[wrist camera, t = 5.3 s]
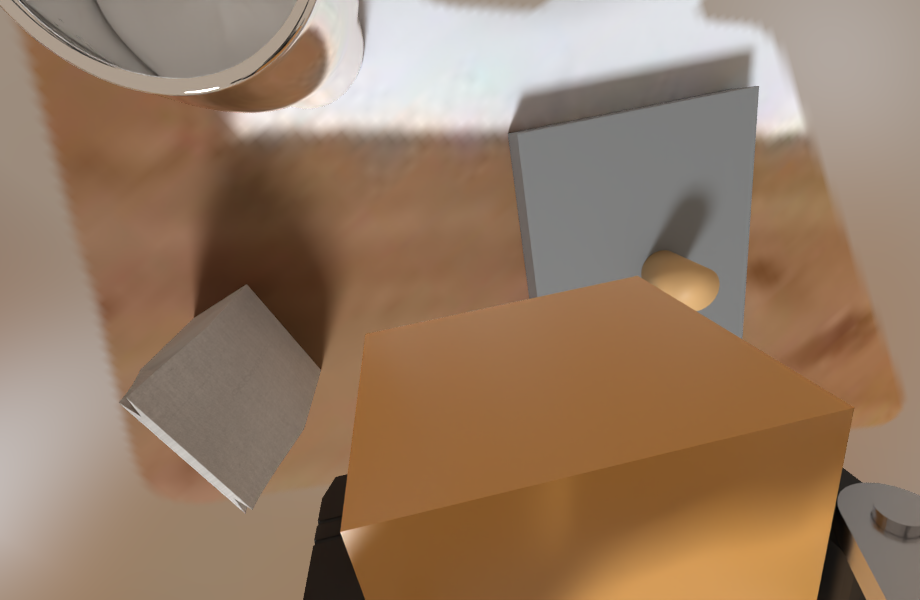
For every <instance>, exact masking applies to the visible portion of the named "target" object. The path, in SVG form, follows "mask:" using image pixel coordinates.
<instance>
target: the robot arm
mask: <svg viewBox="0 0 920 600" xmlns="http://www.w3.org/2000/svg"><path fill="white" fill-rule="evenodd" d="M347 475H348V474H347ZM347 475H342V476H338V477H336V478H335V479H334V481H333V482H332V484H331V485H330V487H329V489H328V490H327V492H326V493H325V495H324V496H323V498H322V502H321V507H320V513H319V518H318V526H317V529H316V534H315V539H314V541H315V545H314V546H313V551H312V556H311V561H310V566H309V572H308V577H307V582H306V587H305V593H304V598H303V600H365V598H364V595H363V592H362V590H361V587H360V584H359V581H358V579H357V576H356V573H355V571H354V568H353V565H352V563H351V560H350V557H349V554H348V552H347V549H346V546H345V544H344V541H343V538H342V536H341V533H340V530H341V522H342V514H343V506H344V499H345V491H346V483H347ZM817 600H920V496H919V495H917V494H915V493H912V492H910V491H907V490H905V489H901V488H898V487H895V486H890V485H886V484H879V483H862V482H861V481H859V480H858V479H856V477H854V476H853V475H852V474H850V473H849V472H848V471H846V470H845V469H844V468H842V473H841V478H840V483H839V489H838V494H837V499H836V504H835V509H834V514H833V519H832V525H831V530H830V535H829V540H828V545H827V550H826V555H825V560H824V566H823V571H822V576H821V581H820V586H819V591H818V596H817Z"/></svg>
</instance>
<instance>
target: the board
mask: <svg viewBox="0 0 920 600" xmlns="http://www.w3.org/2000/svg"><path fill="white" fill-rule="evenodd" d="M758 92H759V86H755V87H746V88H737V89H730V90H725V91H719V92H714V93H709V94H704V95H699V96H694V97H689V98H684V99H679V100H674V101H669V102H664V103H659V104H654V105H649V106H644V107H639V108H634V109H629V110H624V111H619V112H614V113H609V114H604V115H599V116H594V117H589V118H583V119H578V120H573V121H568V122H563V123H558V124H553V125H548V126H543V127H538V128H533V129H528V130H523V131H518V132H513V133H508V138H509V146H510V153H511V161H512V169H513V176H514V184H515V192H516V199H517V207H518V215H519V222H520V230H521V238H522V245H523V253H524V260H525V268H526V276H527V283H528V291H529V299H531V298H536V297H541V296H545V295H550V294H555V293H559V292H564V291H569V290H573V289H578V288H583V287H587V286H592V285H597V284H601V283H606V282H611V281H615V280H620V279H625V278H630V277H634V276H639V277H641V278H642V279H644V280H646V281H647V282H649V283H651V284H652V285H654V286H656V287H657V288H659V289H661V290H662V291H664V292H665V293H667V294H669V295H670V296H672V297H674V298H675V299H677V300H679V301H680V302H682V303H684V304H685V305H687V306H688V307H690V308H692V309H693V310H695V311H697V312H698V313H700V314H702V315H703V316H705V317H707V318H708V319H710V320H711V321H713V322H715V323H716V324H718V325H720V326H721V327H723V328H725V329H726V330H728V331H729V332H731V333H733V334H734V335H736V336H738V337H739V338H741V339H742V335H743V320H744V305H745V290H746V275H747V259H748V244H749V229H750V214H751V199H752V183H753V168H754V153H755V138H756V123H757V107H758Z"/></svg>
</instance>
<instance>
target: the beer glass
mask: <svg viewBox="0 0 920 600" xmlns="http://www.w3.org/2000/svg"><path fill="white" fill-rule="evenodd" d="M358 6H359V0H0V7H1V8H2V9H3V10H4V11H5V12H6V13H7V14H8V15H9V16H10V17H11V18H12V19H13V20H14V21H15V22H16V23H17V24H18V25H19V26H20V27H22V28H23V29H24V30H25V31H26V32H27V33H29V34H30V35H31V36H32V37H33V38H35V39H36V40H37V41H38V42H40V43H41V44H42V45H44V46H45V47H46V48H48V49H49V50H51V51H52V52H53V53H55V54H56V55H58V56H59V57H61V58H63V59H64V60H66V61H67V62H69V63H71V64H72V65H74V66H76V67H78V68H80V69H81V70H83V71H85V72H87V73H89V74H91V75H93V76H96V77H98V78H100V79H102V80H105V81H108V82H110V83H113V84H116V85H118V86H121V87H125V88H128V89H132V90H136V91H140V92H145V93H150V94H155V95H158V96H161V97H164V98H167V99H171V100H174V101H178V102H181V103H185V104H188V105H192V106H196V107H201V108H206V109H212V110H218V111H224V112H232V113H261V112H271V111H277V110H281V109H285V108H288V107H293V108H298V109H314V108H319V107H323V106H326V105H329V104H331V103H333V102H335V101H336V100H338V99H339V98H341V97H342V96H343V95H344V94H345V93H346V92H347V91H348V90H349V88H350V87H351V86H352V84H353V83H354V81H355V79H356V77H357V75H358V73H359V71H360V68H361V64H362V59H363V50H364V43H363V34H362V28H361V24H360V21H359V18H358Z"/></svg>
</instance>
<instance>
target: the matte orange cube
mask: <svg viewBox="0 0 920 600" xmlns="http://www.w3.org/2000/svg"><path fill="white" fill-rule="evenodd" d="M853 412H854V407H853V406H851V405H849V404H848V403H846V402H844V401H843V400H841V399H839V398H838V397H836V396H835V395H833V394H831V393H830V392H828V391H826V390H825V389H823V388H821V387H820V386H818V385H817V384H815V383H813V382H812V381H810V380H808V379H807V378H805V377H803V376H802V375H800V374H798V373H797V372H795V371H794V370H792V369H790V368H789V367H787V366H785V365H784V364H782V363H780V362H779V361H777V360H775V359H774V358H772V357H771V356H769V355H767V354H766V353H764V352H762V351H761V350H759V349H757V348H756V347H754V346H752V345H751V344H749V343H748V342H746V341H744V340H743V339H741V338H739V337H738V336H736V335H734V334H733V333H731V332H729V331H728V330H726V329H725V328H723V327H721V326H720V325H718V324H716V323H715V322H713V321H711V320H710V319H708V318H707V317H705V316H703V315H702V314H700V313H698V312H697V311H695V310H693V309H692V308H690V307H688V306H687V305H685V304H684V303H682V302H680V301H679V300H677V299H675V298H674V297H672V296H670V295H669V294H667V293H665V292H664V291H662V290H661V289H659V288H657V287H656V286H654V285H652V284H651V283H649V282H647V281H646V280H644V279H642V278H641V277H639V276H634V277H630V278H625V279H620V280H615V281H611V282H606V283H601V284H597V285H592V286H587V287H583V288H578V289H573V290H569V291H564V292H559V293H555V294H550V295H545V296H541V297H536V298H531V299H527V300H522V301H517V302H512V303H508V304H503V305H498V306H494V307H489V308H484V309H480V310H475V311H470V312H466V313H461V314H456V315H452V316H447V317H442V318H438V319H433V320H428V321H424V322H419V323H414V324H410V325H405V326H400V327H395V328H391V329H386V330H381V331H377V332H372V333H367V334H365V342H364V350H363V358H362V365H361V373H360V381H359V389H358V397H357V405H356V412H355V420H354V428H353V436H352V444H351V452H350V459H349V467H348V475H347V483H346V491H345V499H344V506H343V514H342V522H341V530H340V533H341V536H342V538H343V541H344V544H345V546H346V549H347V552H348V554H349V557H350V560H351V563H352V565H353V568H354V571H355V573H356V576H357V579H358V581H359V584H360V587H361V590H362V592H363V595H364V598H365V600H817V596H818V591H819V586H820V581H821V576H822V571H823V566H824V560H825V555H826V550H827V545H828V540H829V535H830V530H831V525H832V519H833V514H834V509H835V504H836V499H837V494H838V489H839V483H840V478H841V473H842V468H843V463H844V458H845V453H846V447H847V442H848V437H849V432H850V427H851V422H852V417H853Z"/></svg>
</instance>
